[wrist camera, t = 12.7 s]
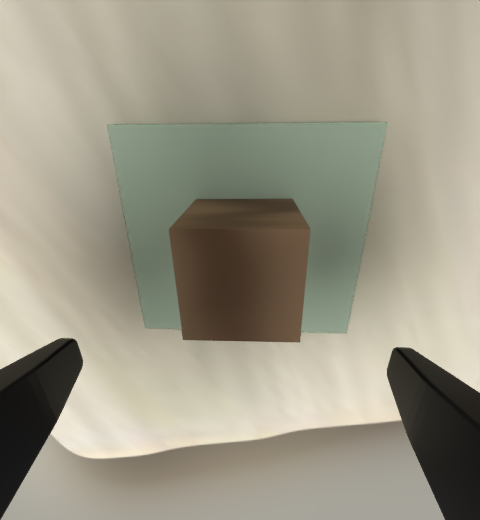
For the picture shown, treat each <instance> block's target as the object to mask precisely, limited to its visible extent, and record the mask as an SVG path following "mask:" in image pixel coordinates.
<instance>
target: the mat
mask: <svg viewBox="0 0 480 520" xmlns="http://www.w3.org/2000/svg"><path fill="white" fill-rule="evenodd" d="M107 126H108V132H109V137H110V143H111V148H112V153H113V159H114V164H115V169H116V175H117V180H118V185H119V191H120V196H121V201H122V207H123V212H124V218H125V223H126V228H127V234H128V239H129V244H130V250H131V255H132V260H133V266H134V271H135V276H136V282H137V287H138V293H139V298H140V303H141V309H142V314H143V319H144V325H145V328H158V329H182V328H181V320H180V313H179V305H178V297H177V290H176V282H175V274H174V267H173V259H172V251H171V244H170V236H169V228H170V227H171V226H172V225H173V224H174V223H175V222H176V221H177V219H178V218H179V217H180V216H181V215H182V214H183V213H184V212H185V211H186V210H187V208H188V207H189V206H190V205H191V204H192V203H193V202H194V201H195V200H196V199H292V198H293V200H294V202H295V203H296V205H297V207H298V208H299V210H300V212H301V214H302V215H303V217H304V219H305V220H306V222H307V224H308V225H309V227H310V229H311V231H310V241H309V252H308V262H307V273H306V284H305V294H304V305H303V315H302V326H301V332H309V333H347V328H348V323H349V318H350V312H351V307H352V302H353V297H354V292H355V287H356V281H357V276H358V271H359V266H360V261H361V256H362V250H363V245H364V240H365V235H366V230H367V225H368V220H369V214H370V209H371V204H372V199H373V194H374V189H375V183H376V178H377V173H378V168H379V163H380V158H381V152H382V147H383V142H384V137H385V132H386V127H387V122H332V123H224V124H116V125H107Z"/></svg>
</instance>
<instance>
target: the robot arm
mask: <svg viewBox="0 0 480 520" xmlns="http://www.w3.org/2000/svg"><path fill="white" fill-rule="evenodd" d="M82 366H83V359H82V356H81V352H80V349H79V346H78V343H77V341H76V340H75V339H72V338H60V339H57V340H55V341H54V342H52V343H50V344H48V345H46V346H44V347H42V348H40V349H38V350H36V351H35V352H33V353H31V354H29V355H27V356H25V357H23V358H21V359H19V360H17V361H16V362H14V363H12V364H10V365H8V366H6V367H4V368H2V369H0V519H1V518H2V516H3V514H4V513H5V511H6V509H7V508H8V506H9V504H10V502H11V501H12V499H13V497H14V495H15V494H16V492H17V490H18V488H19V487H20V485H21V483H22V482H23V480H24V478H25V476H26V475H27V473H28V471H29V469H30V468H31V466H32V464H33V462H34V461H35V459H36V457H37V456H38V454H39V452H40V450H41V449H42V447H43V445H44V443H45V441H46V440H47V438H48V436H49V435H50V433H51V431H52V429H53V428H54V426H55V424H56V422H57V420H58V418H59V416H60V414H61V412H62V410H63V408H64V406H65V404H66V401H67V399H68V397H69V395H70V393H71V391H72V388H73V386H74V384H75V382H76V380H77V378H78V376H79V373H80V371H81V369H82ZM387 377H388V381H389V384H390V386H391V389H392V392H393V395H394V398H395V401H396V404H397V407H398V410H399V413H400V416H401V419H402V422H403V424H404V428H405V430H406V433H407V436H408V438H409V440H410V443H411V445H412V447H413V449H414V451H415V453H416V456H417V458H418V461H419V463H420V465H421V467H422V469H423V472H424V474H425V476H426V478H427V481H428V483H429V485H430V487H431V489H432V492H433V494H434V496H435V498H436V501H437V503H438V505H439V507H440V509H441V512H442V513H443V516H444V518H445V520H480V393H479V392H478V391H476V390H475V389H473V388H471V387H470V386H468V385H467V384H465V383H464V382H462V381H461V380H459V379H458V378H456V377H455V376H453V375H452V374H450V373H449V372H447V371H445V370H444V369H442V368H441V367H439V366H438V365H436V364H435V363H433V362H432V361H430V360H429V359H427V358H426V357H424V356H423V355H421V354H419V353H418V352H416V351H415V350H413V349H411V348H404V347H396V348H394V349H393V351H392V354H391V357H390V361H389V364H388V368H387Z"/></svg>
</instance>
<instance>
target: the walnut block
mask: <svg viewBox="0 0 480 520" xmlns="http://www.w3.org/2000/svg"><path fill="white" fill-rule="evenodd" d="M310 231H311V229H310V227H309V225H308V224H307V222H306V220H305V219H304V217H303V215H302V214H301V212H300V210H299V208H298V207H297V205H296V203H295V202H294V200H293V198H292V199H196V200H195V201H194V202H193V203H192V204H191V205H190V206H189V207H188V208H187V210H186V211H185V212H184V213H183V214H182V215H181V216H180V217H179V218H178V219H177V221H176V222H175V223H174V224H173V225H172V226H171V227H170V228H169V236H170V244H171V251H172V259H173V267H174V274H175V282H176V290H177V297H178V305H179V313H180V320H181V328H182V336H183V340H213V341H262V342H300V337H301V326H302V315H303V305H304V294H305V284H306V273H307V262H308V252H309V241H310Z"/></svg>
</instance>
